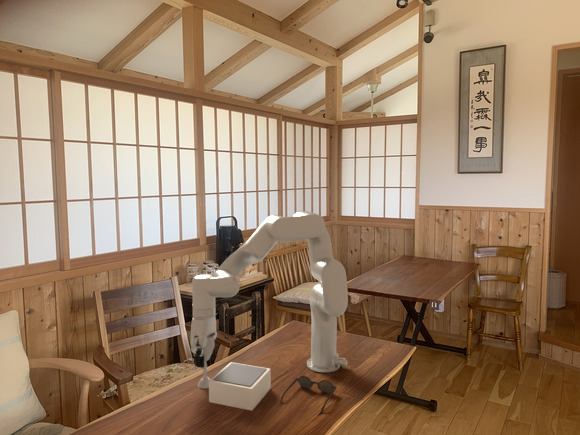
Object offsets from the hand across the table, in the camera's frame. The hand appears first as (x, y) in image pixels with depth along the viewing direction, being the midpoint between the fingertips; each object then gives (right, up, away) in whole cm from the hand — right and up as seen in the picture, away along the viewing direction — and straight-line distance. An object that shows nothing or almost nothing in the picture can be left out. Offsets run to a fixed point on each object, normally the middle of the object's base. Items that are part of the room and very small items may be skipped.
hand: (204, 362), depth 152 cm
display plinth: (+13, -9, -6) cm, 17 cm away
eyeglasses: (+35, -10, -9) cm, 37 cm away
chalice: (0, -8, +1) cm, 8 cm away
